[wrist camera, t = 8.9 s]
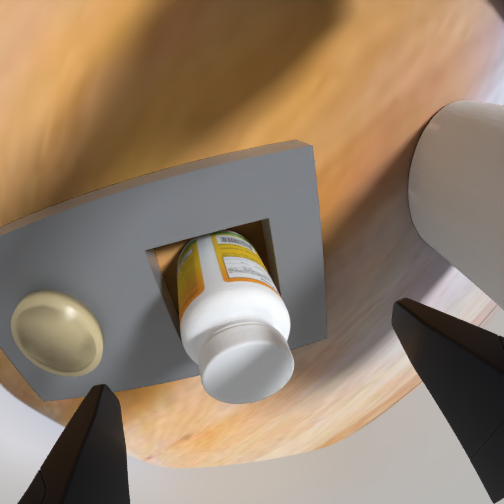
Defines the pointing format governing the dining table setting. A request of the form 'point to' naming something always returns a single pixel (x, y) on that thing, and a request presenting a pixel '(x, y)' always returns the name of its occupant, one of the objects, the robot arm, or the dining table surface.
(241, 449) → the dining table surface
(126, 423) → the dining table surface
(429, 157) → the utensil holder
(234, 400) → the supplement bottle
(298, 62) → the dining table surface
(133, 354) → the plate
